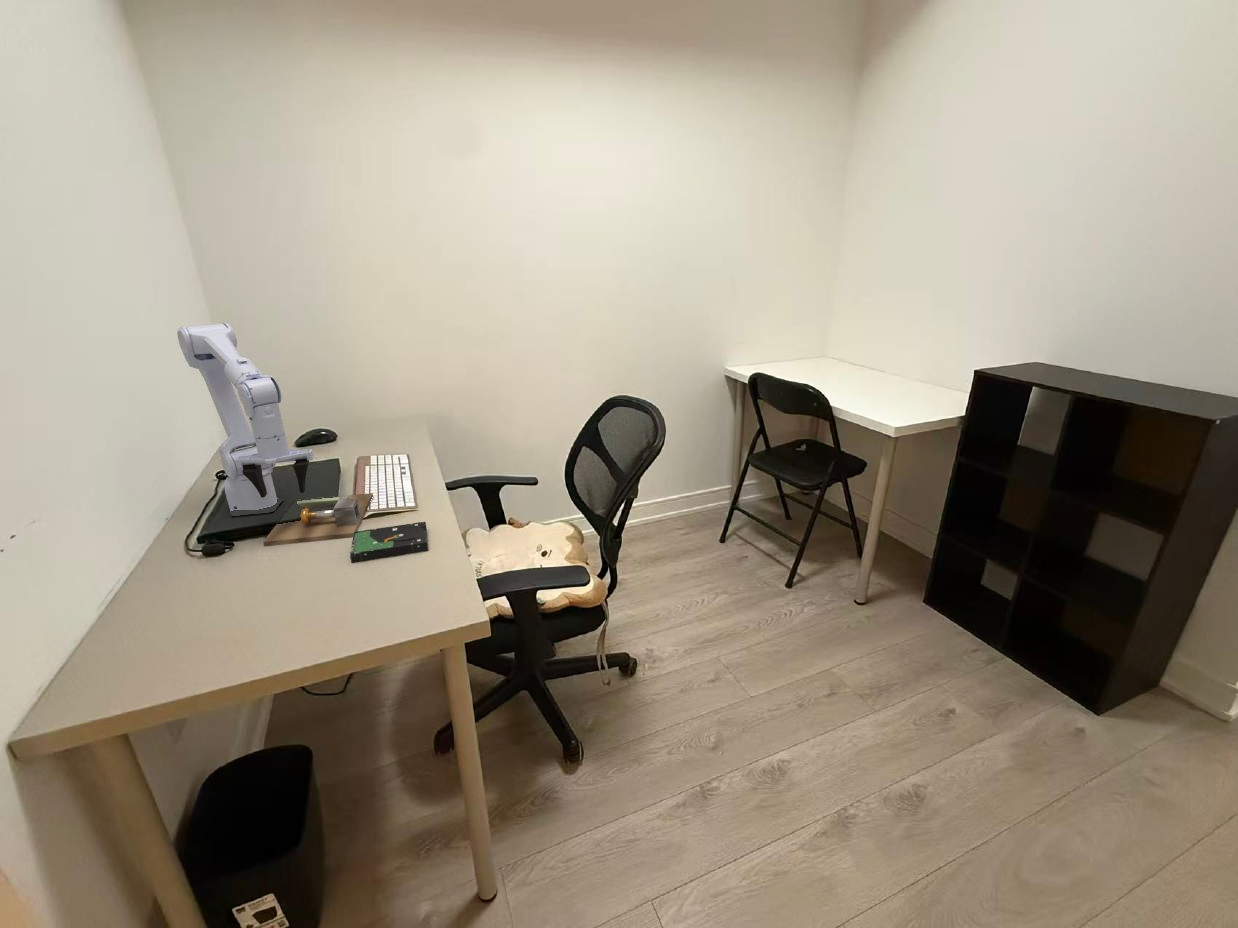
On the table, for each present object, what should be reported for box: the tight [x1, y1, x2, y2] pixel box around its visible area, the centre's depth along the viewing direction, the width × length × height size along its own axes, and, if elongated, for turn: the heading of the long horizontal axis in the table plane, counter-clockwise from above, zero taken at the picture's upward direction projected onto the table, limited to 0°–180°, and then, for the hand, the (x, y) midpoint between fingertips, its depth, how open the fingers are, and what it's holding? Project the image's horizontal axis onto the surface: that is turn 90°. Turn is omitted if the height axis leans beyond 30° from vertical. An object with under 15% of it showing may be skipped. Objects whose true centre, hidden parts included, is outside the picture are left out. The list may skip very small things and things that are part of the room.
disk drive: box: [349, 521, 429, 564], centre depth 120 cm, size 10×3×15 cm
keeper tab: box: [297, 497, 342, 509], centre depth 133 cm, size 9×6×1 cm
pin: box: [300, 508, 335, 524], centre depth 127 cm, size 8×3×3 cm, turn 102°
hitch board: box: [262, 492, 374, 547], centre depth 131 cm, size 18×22×5 cm
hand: (283, 493), depth 125 cm, fingers open, 7 cm apart
